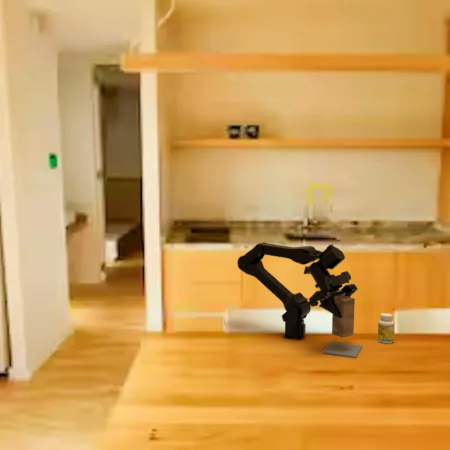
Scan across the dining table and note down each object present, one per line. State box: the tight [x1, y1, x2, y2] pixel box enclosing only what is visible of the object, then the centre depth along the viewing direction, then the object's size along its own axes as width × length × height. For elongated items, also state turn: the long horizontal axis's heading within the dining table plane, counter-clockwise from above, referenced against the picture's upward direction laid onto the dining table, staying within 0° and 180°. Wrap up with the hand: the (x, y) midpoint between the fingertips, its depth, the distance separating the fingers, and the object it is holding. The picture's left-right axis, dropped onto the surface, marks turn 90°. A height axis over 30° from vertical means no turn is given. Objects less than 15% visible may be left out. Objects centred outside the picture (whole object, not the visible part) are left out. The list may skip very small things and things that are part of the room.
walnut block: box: [331, 295, 356, 339], centre depth 195 cm, size 5×5×12 cm
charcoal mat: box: [322, 341, 363, 359], centre depth 197 cm, size 11×11×1 cm
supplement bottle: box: [377, 312, 395, 344], centre depth 205 cm, size 5×5×10 cm
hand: (346, 316), depth 194 cm, fingers closed on walnut block, 5 cm apart
